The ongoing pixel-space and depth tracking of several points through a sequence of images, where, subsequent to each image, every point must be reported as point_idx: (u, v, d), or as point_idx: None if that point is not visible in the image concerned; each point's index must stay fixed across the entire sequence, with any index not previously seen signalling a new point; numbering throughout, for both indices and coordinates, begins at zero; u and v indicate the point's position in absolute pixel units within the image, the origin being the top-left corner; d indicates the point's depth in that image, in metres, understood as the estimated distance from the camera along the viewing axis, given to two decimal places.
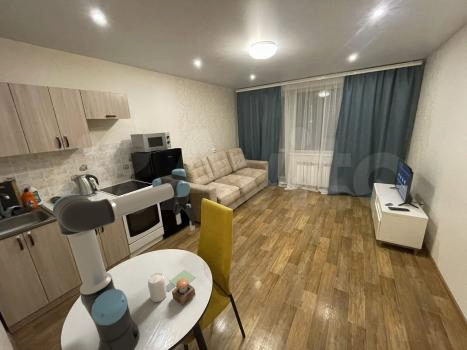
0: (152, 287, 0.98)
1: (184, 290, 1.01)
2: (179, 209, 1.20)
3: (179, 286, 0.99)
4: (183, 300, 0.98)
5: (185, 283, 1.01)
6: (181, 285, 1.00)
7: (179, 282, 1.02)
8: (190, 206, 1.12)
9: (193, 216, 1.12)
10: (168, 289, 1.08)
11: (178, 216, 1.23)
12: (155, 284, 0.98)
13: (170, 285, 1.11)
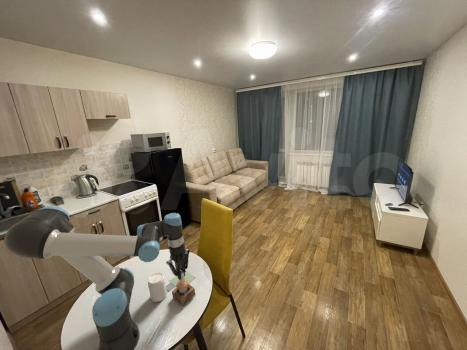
0: (152, 287, 0.98)
1: (184, 290, 1.01)
2: (180, 261, 0.99)
3: (179, 286, 0.99)
4: (183, 300, 0.98)
5: (185, 283, 1.01)
6: (181, 285, 1.00)
7: (179, 282, 1.02)
8: None
9: (173, 272, 0.96)
10: (168, 289, 1.08)
11: None
12: (155, 284, 0.98)
13: (170, 285, 1.11)
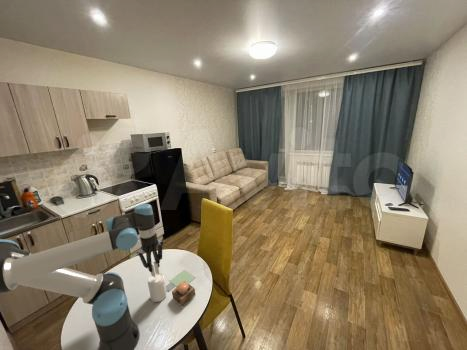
0: (152, 287, 0.98)
1: None
2: (153, 252, 0.99)
3: (180, 290, 1.00)
4: (183, 300, 0.98)
5: (186, 287, 1.01)
6: (182, 289, 1.00)
7: (180, 286, 1.02)
8: (139, 255, 0.92)
9: (143, 264, 0.95)
10: (168, 289, 1.08)
11: (155, 265, 1.00)
12: (155, 284, 0.98)
13: (170, 285, 1.11)
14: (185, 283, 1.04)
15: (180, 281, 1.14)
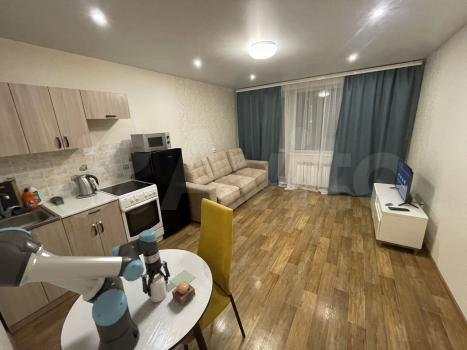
0: (151, 287, 0.98)
1: None
2: (159, 273, 1.04)
3: (180, 290, 1.00)
4: (183, 300, 0.98)
5: (186, 287, 1.01)
6: (182, 289, 1.00)
7: (180, 286, 1.02)
8: (142, 279, 0.95)
9: (143, 288, 0.97)
10: (168, 289, 1.08)
11: None
12: (155, 284, 0.98)
13: (170, 285, 1.11)
14: (185, 283, 1.04)
15: (180, 281, 1.14)
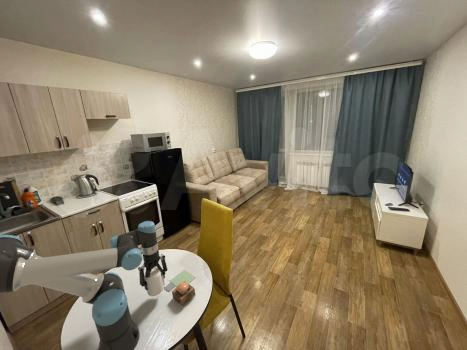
0: (147, 281, 0.96)
1: None
2: (157, 267, 1.02)
3: (180, 290, 1.00)
4: (183, 300, 0.98)
5: (186, 287, 1.01)
6: (182, 289, 1.00)
7: (180, 286, 1.02)
8: (140, 271, 0.94)
9: (140, 281, 0.95)
10: (168, 289, 1.08)
11: None
12: (151, 279, 0.96)
13: (170, 285, 1.11)
14: (185, 283, 1.04)
15: (180, 281, 1.14)
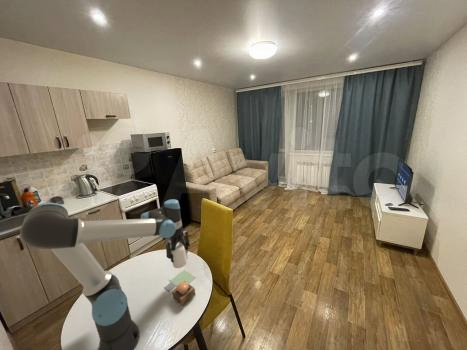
0: (173, 254, 1.05)
1: None
2: None
3: (180, 290, 1.00)
4: (183, 300, 0.98)
5: (186, 287, 1.01)
6: (182, 289, 1.00)
7: (180, 286, 1.02)
8: (166, 244, 1.03)
9: (167, 254, 1.05)
10: (168, 289, 1.08)
11: None
12: (176, 251, 1.05)
13: (170, 285, 1.11)
14: (185, 283, 1.04)
15: (180, 281, 1.14)
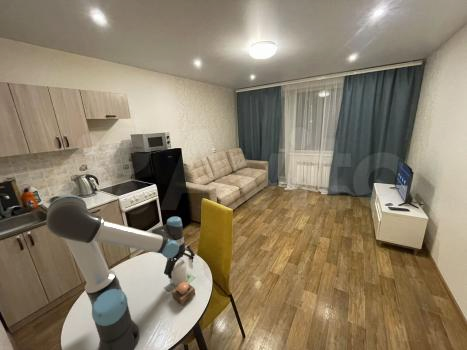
0: (174, 271, 1.08)
1: None
2: (185, 255, 1.15)
3: (180, 290, 1.00)
4: (183, 300, 0.98)
5: (186, 287, 1.01)
6: (182, 289, 1.00)
7: (180, 286, 1.02)
8: (168, 259, 1.05)
9: (165, 270, 1.05)
10: (168, 289, 1.08)
11: (189, 260, 1.18)
12: (177, 269, 1.08)
13: (170, 285, 1.11)
14: (185, 283, 1.04)
15: None
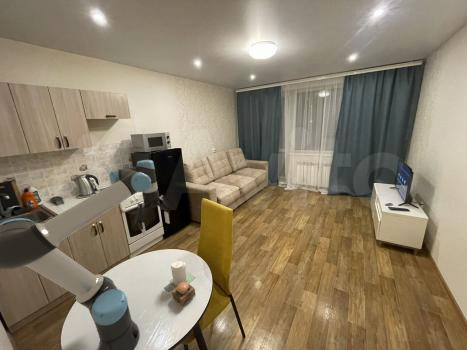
0: (174, 271, 1.08)
1: None
2: (159, 206, 1.03)
3: (180, 290, 1.00)
4: (183, 300, 0.98)
5: (186, 287, 1.01)
6: (182, 289, 1.00)
7: (180, 286, 1.02)
8: (139, 206, 0.94)
9: (135, 218, 0.94)
10: (168, 289, 1.08)
11: (165, 214, 1.06)
12: (177, 269, 1.08)
13: (170, 285, 1.11)
14: (185, 283, 1.04)
15: None
